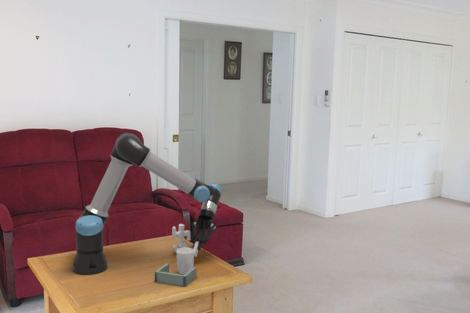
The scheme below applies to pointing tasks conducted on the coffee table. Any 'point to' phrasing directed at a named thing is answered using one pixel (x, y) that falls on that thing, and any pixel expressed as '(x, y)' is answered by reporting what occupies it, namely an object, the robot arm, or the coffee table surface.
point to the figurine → (180, 237)
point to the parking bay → (174, 276)
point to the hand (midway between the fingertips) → (194, 255)
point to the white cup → (185, 260)
